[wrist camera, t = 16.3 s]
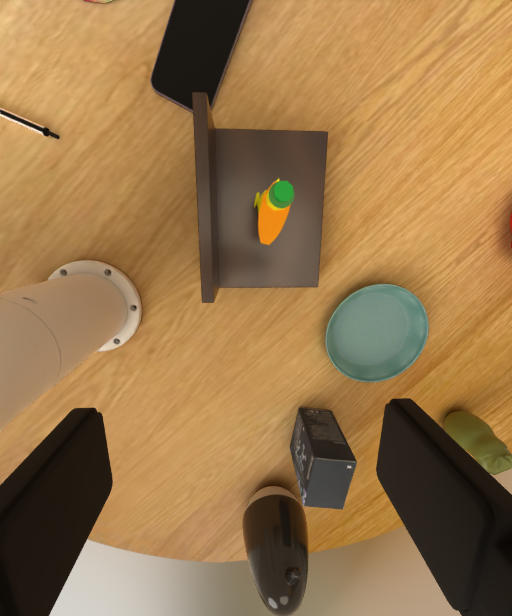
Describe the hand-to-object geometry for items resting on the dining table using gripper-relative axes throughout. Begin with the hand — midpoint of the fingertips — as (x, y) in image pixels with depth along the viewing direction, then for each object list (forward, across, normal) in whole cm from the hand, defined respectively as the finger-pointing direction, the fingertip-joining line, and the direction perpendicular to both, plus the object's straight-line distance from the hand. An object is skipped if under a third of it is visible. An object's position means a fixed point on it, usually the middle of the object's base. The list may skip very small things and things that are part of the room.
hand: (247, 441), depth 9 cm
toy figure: (+28, -3, -9) cm, 29 cm away
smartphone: (+31, +4, -28) cm, 42 cm away
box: (+31, -11, +24) cm, 40 cm away
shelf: (+30, -3, -9) cm, 32 cm away
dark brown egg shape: (+31, -5, +38) cm, 49 cm away
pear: (+31, -35, +23) cm, 52 cm away
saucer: (+31, -19, +7) cm, 37 cm away
